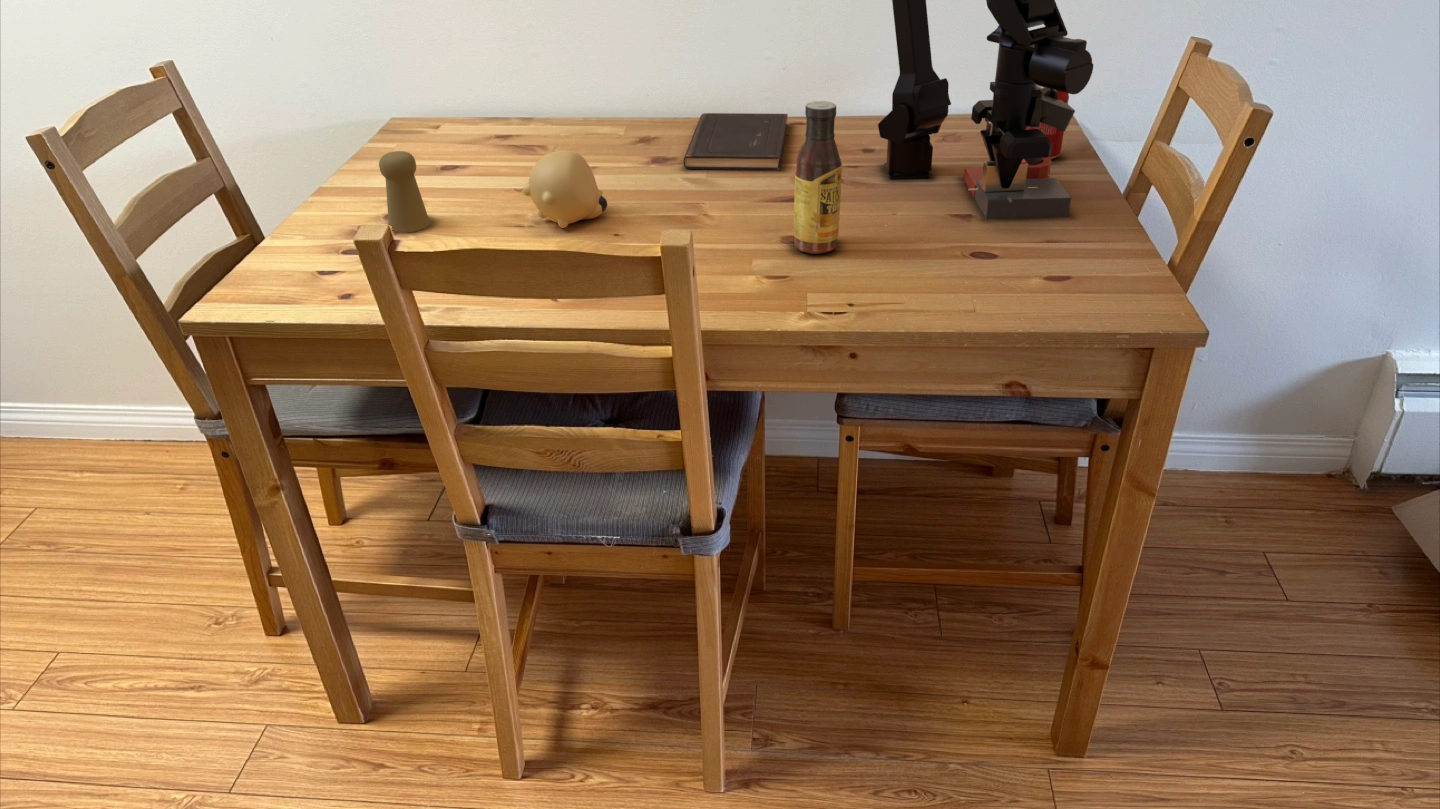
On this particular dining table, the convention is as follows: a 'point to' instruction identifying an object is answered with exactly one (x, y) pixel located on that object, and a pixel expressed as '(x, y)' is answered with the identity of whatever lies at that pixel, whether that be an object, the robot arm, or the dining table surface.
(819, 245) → the sauce bottle
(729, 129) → the hardcover book
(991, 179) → the tan and red box
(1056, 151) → the soda can
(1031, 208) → the dark grey panel
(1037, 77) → the robot arm
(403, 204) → the brown game pawn
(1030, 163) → the button
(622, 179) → the dining table surface
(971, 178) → the button box
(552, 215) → the tan rounded figure
